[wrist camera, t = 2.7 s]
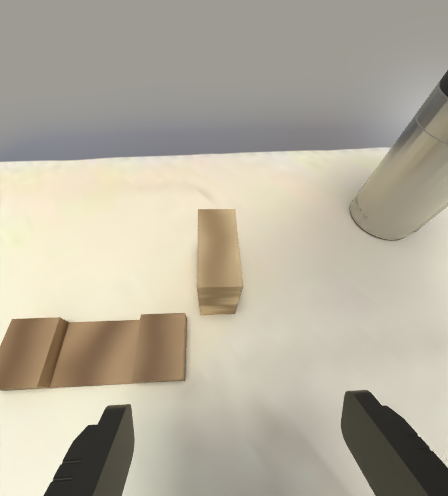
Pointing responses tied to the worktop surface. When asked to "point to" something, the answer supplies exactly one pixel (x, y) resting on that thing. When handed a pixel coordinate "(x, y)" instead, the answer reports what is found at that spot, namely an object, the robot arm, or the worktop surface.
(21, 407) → the worktop surface
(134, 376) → the notched beam
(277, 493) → the worktop surface
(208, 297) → the oak crosspiece
